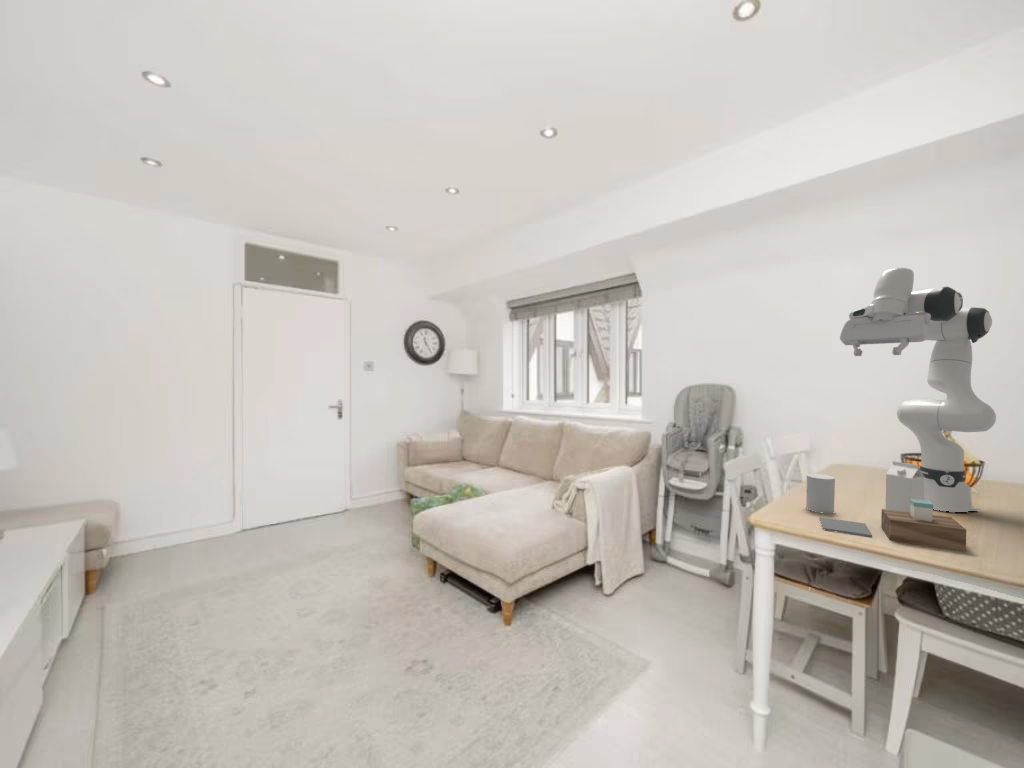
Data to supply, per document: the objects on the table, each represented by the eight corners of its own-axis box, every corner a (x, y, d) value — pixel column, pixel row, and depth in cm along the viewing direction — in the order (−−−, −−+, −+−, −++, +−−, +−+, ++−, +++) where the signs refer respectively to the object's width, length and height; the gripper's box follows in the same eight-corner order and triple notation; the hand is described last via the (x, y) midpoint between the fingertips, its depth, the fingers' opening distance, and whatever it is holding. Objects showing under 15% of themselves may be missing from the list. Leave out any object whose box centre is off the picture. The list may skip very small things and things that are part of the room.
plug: (909, 535, 132) (910, 498, 132) (928, 537, 130) (928, 500, 130) (912, 539, 128) (913, 502, 128) (932, 542, 126) (933, 504, 126)
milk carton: (898, 515, 150) (899, 460, 150) (923, 522, 143) (925, 464, 143) (885, 518, 147) (886, 461, 147) (910, 524, 141) (911, 466, 140)
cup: (837, 510, 156) (838, 476, 155) (829, 515, 151) (830, 480, 150) (811, 505, 162) (811, 472, 162) (802, 509, 157) (803, 475, 157)
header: (881, 527, 138) (881, 508, 138) (950, 537, 130) (951, 517, 130) (889, 539, 128) (890, 519, 128) (965, 551, 120) (966, 529, 120)
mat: (819, 518, 147) (819, 517, 147) (865, 525, 140) (865, 523, 140) (822, 529, 136) (823, 527, 136) (872, 537, 130) (872, 535, 130)
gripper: (935, 316, 125) (926, 359, 122) (851, 323, 143) (841, 360, 140) (928, 304, 122) (918, 347, 119) (843, 313, 140) (832, 350, 137)
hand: (876, 354), depth 130 cm, fingers open, 8 cm apart
